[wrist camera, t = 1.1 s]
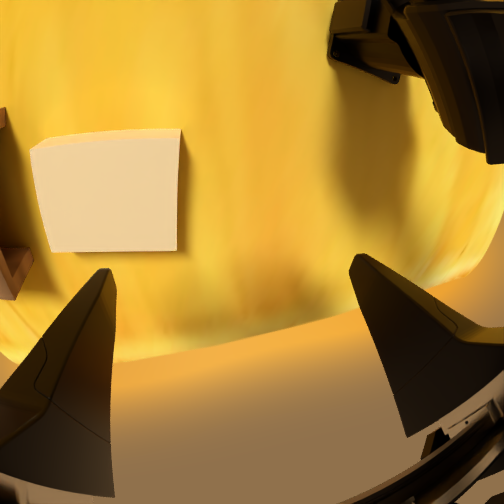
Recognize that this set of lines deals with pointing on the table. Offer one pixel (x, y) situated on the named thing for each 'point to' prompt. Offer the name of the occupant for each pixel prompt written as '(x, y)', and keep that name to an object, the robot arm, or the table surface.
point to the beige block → (109, 190)
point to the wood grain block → (12, 259)
